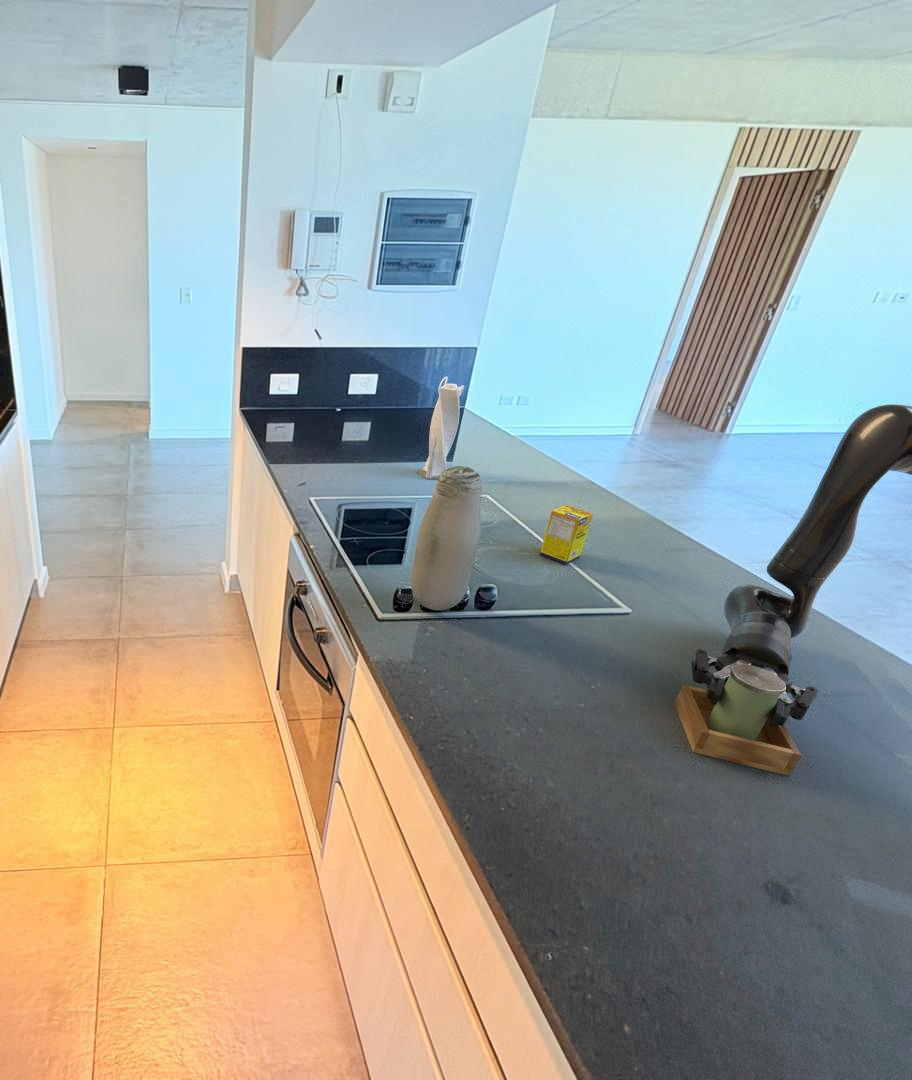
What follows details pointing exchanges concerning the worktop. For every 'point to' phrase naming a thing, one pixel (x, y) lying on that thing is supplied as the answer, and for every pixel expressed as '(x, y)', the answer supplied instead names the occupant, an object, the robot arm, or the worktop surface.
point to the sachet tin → (746, 702)
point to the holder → (734, 737)
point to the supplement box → (566, 534)
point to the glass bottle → (448, 540)
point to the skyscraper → (442, 429)
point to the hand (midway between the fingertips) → (744, 709)
